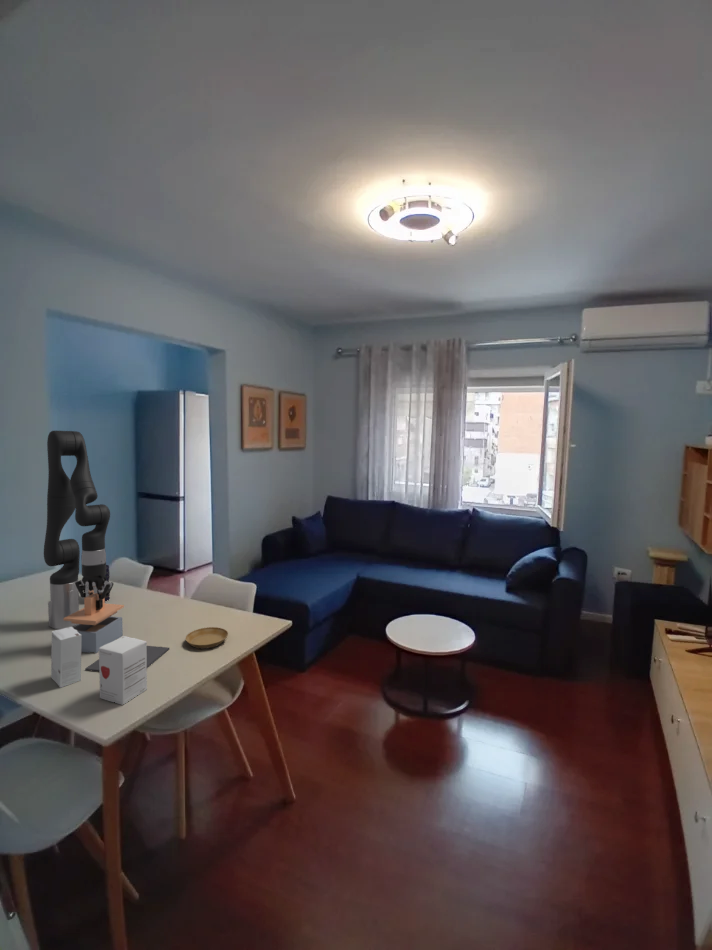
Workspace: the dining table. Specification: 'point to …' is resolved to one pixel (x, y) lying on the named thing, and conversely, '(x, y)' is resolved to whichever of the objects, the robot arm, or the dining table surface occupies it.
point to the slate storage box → (99, 633)
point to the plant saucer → (206, 637)
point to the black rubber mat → (152, 656)
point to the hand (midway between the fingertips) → (94, 609)
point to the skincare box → (66, 656)
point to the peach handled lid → (93, 612)
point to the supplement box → (123, 669)
